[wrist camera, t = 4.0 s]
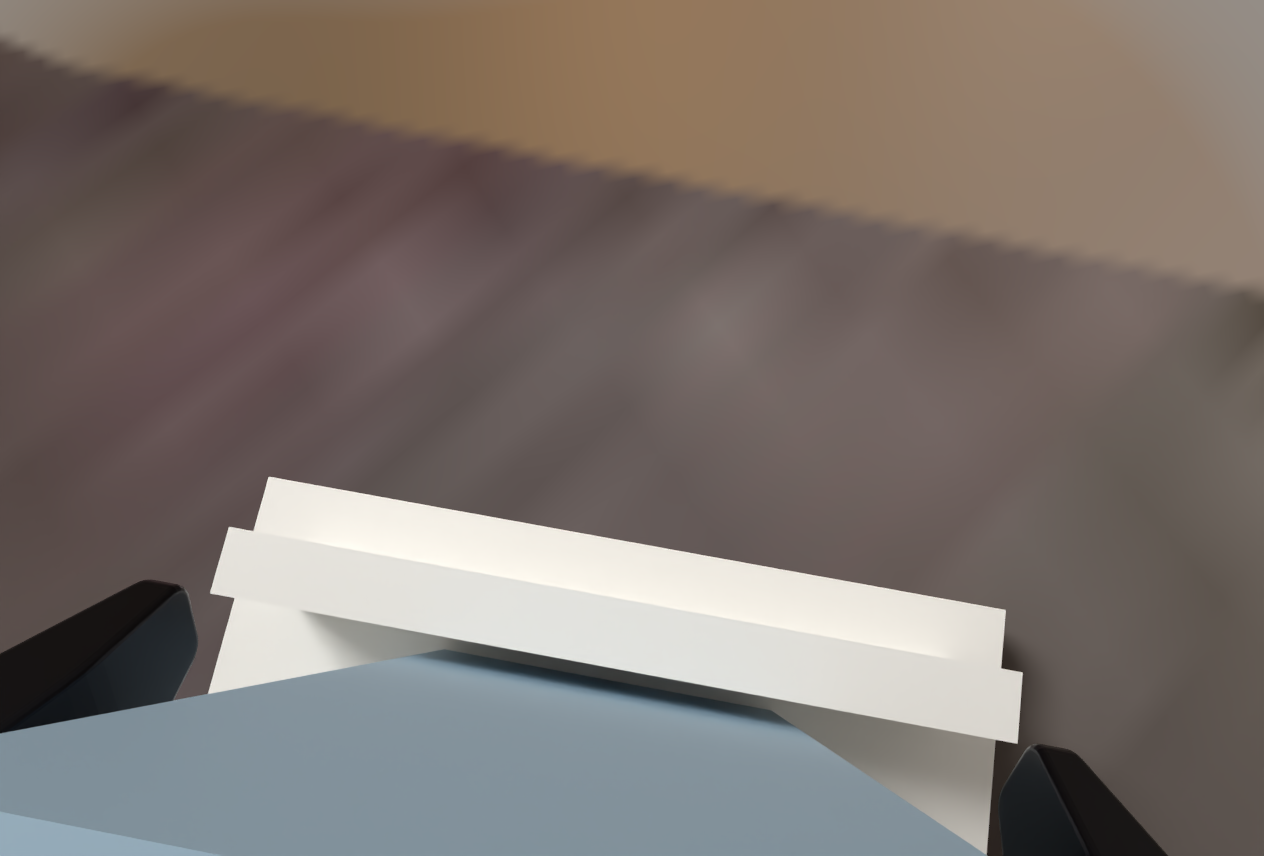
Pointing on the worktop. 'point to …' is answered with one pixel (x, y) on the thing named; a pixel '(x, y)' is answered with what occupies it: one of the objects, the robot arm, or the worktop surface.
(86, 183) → the worktop surface
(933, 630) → the rack
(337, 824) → the blue rectangular block
